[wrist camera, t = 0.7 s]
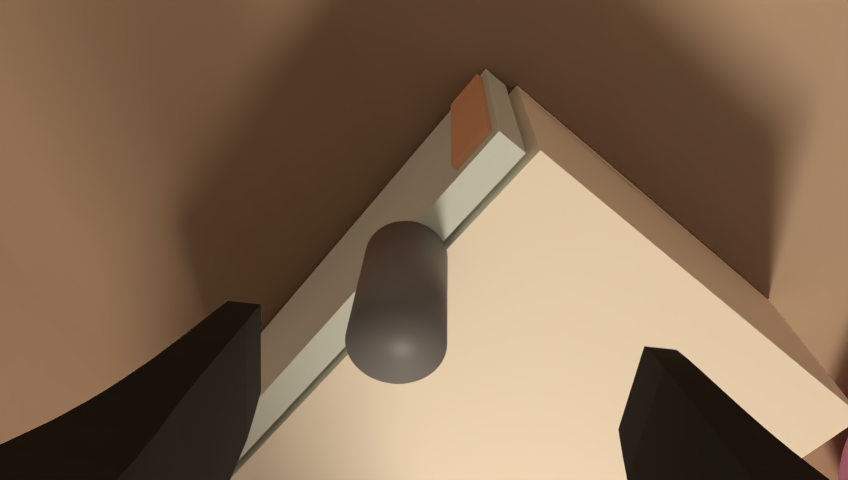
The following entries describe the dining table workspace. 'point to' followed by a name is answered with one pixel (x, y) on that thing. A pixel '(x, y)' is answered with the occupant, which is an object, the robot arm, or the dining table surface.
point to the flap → (392, 262)
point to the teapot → (844, 463)
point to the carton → (554, 340)
